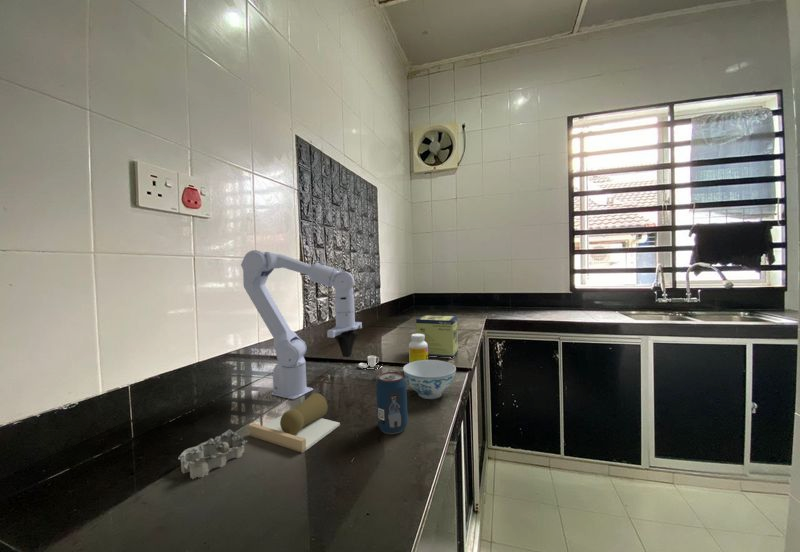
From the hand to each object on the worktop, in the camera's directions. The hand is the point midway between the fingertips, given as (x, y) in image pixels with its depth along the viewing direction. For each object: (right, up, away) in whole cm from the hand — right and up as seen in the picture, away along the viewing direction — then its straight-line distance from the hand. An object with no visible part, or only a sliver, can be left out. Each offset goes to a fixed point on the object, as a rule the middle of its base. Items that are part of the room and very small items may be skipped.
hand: (346, 356), depth 94 cm
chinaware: (+25, -10, -5) cm, 27 cm away
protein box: (+32, -9, +36) cm, 49 cm away
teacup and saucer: (+3, -10, +25) cm, 27 cm away
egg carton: (-20, -12, -33) cm, 41 cm away
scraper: (-8, -11, -22) cm, 26 cm away
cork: (-4, -8, -16) cm, 19 cm away
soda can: (+14, -11, -23) cm, 29 cm away
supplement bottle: (+23, -10, +16) cm, 29 cm away
